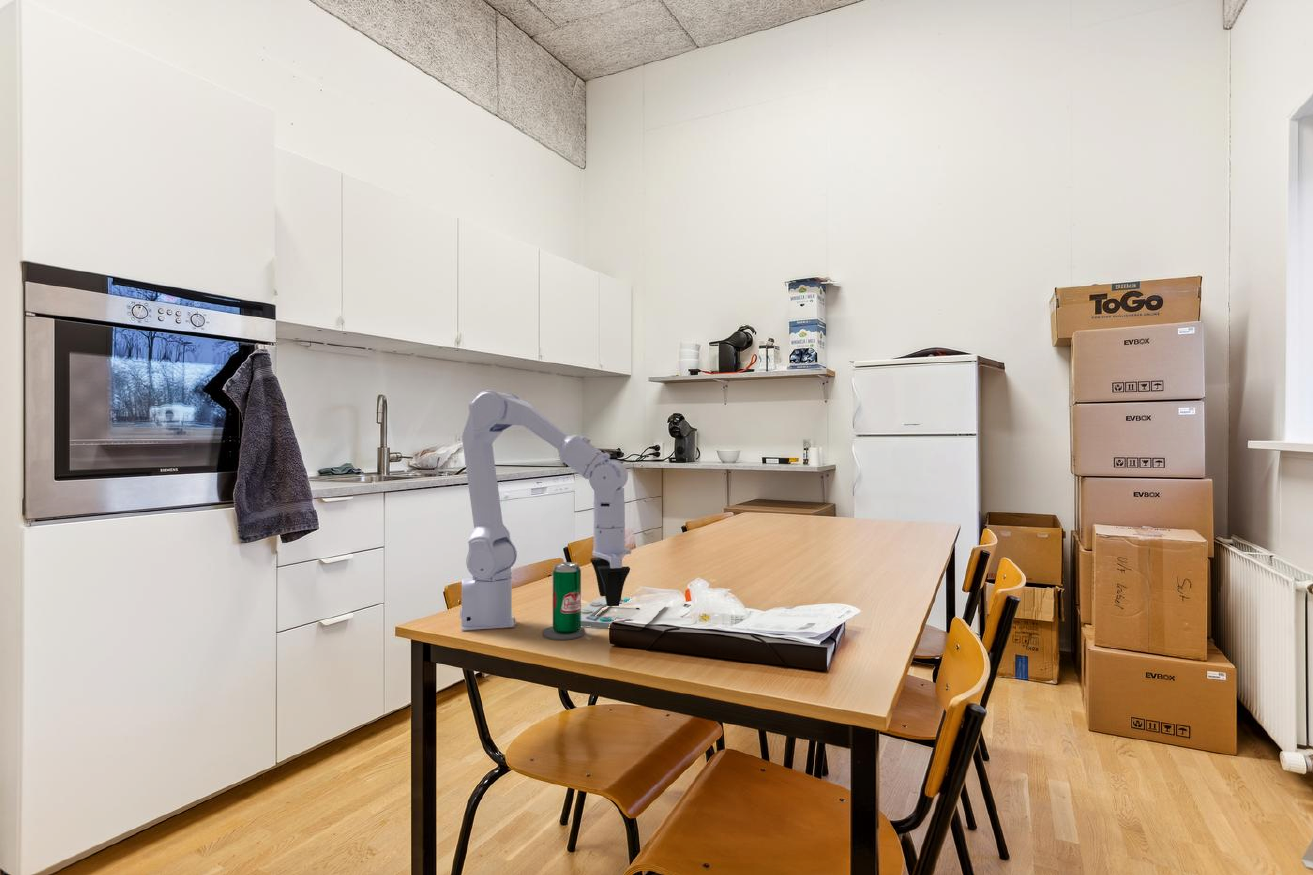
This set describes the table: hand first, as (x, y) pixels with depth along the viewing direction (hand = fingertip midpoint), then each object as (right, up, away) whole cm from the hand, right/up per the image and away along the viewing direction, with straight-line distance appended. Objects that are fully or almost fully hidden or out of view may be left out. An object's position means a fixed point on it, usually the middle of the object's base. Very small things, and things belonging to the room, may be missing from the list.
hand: (609, 600), depth 126 cm
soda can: (-8, -5, -2) cm, 9 cm away
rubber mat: (-8, -6, -2) cm, 10 cm away
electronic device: (+1, -7, +11) cm, 12 cm away
